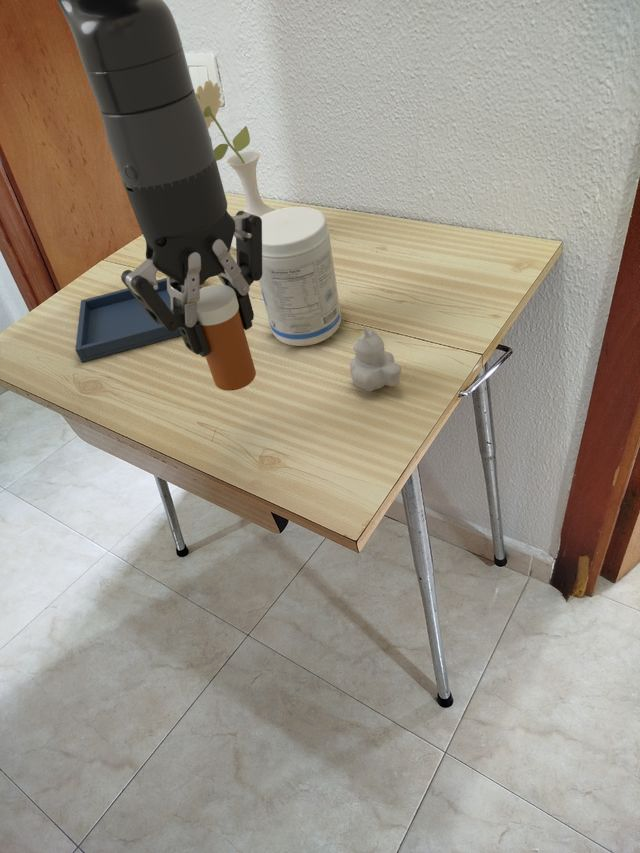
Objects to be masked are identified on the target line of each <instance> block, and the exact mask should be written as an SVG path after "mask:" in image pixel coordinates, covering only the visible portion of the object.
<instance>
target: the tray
mask: <svg viewBox="0 0 640 853" xmlns="http://www.w3.org/2000/svg"><path fill="white" fill-rule="evenodd" d="M156 280H157V282H158V289H157V290H155V291H156V292H157V293H158V295H159V296H160V297H161V299H162V300H163V301H164V303H165V304H166V305H167V307H168V308H169V309H170V310H171V301H170V295H169V293H168V291H167V277H165V278H164V277H163V278H162V279H156ZM177 337H182V335H181V332H180V329H179V327H178V328H177V329H176V330H175V331H169V330H167V329H166V328H165V327H164V326H162V325H160V324H158V323H156V322H155V321H154V320H153V319H152V318H151V317H150V315H149V314H148V313H147V312H146V310H145V309H144V308H143V307H142V305H141V304H140V303H139V302H138V300H137V299H136V298H135V297H134V295H133V294H132V293H131V292H130V290H129V289H128V288H127V287H126V288H123V289H119V290H115V291H112V292H108V293H104V294H100V295H96V296H93V297H88V298H84V299H81V300H80V306H79V315H78V324H77V333H76V342H75V352H76V354H77V356H78V358H79V360H80V362H81V363H85V362H88V361H92V360H96V359H99V358H104V357H106V356H110V355H113V354H117V353H122V352H126V351H129V350H133V349H136V348H140V347H144V346H148V345H151V344H155V343H159V342H163V341H166V340H170V339H173V338H177Z"/></svg>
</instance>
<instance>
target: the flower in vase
mask: <svg viewBox="0 0 640 853" xmlns="http://www.w3.org/2000/svg"><path fill="white" fill-rule="evenodd" d="M195 94H196V97H197V100H198V102H199V105H200V107H201V110H202V112H203V115H204V117H205V120H206V124H207V127H208V129H210V128H211V125H212V123H215V124H216V126H217V127H218V130H219V131H220V133H222V136H223V138H224V140H225V142H226V143H220V144H218V145H217V146H216V147H215V148H213V150H214V154H215V158H216V162H219V161H220V160H222V159H224V157H225V155H226V153H227V151H228V149H229V147H230V149H231V150H232V151H233V152H234V153H235V154H233V155H231V156H230V157H229V158H228V159H227V160H226V162H227V164H228V165H229V166H230V167H231V168H232V169H233V170H234V171H235V173H236V174H237V177H238V178H239V180H240V184H241V186H242V189H243V192H244V197H245V208H244V210H243V211H244V212H247V213H250V214H253V215H255V216H258V217H261V216H262V215H264V214H266V213H269V212H271V211H274V210H277V209H275V208H273V207H271V206H269V205H267V204H265V203H264V201H263V200H262V198H261V195H260V190H259V186H258V181H257V180H258V179H257V167H258V166H257V165H258V162H259V159H260V156H261V155H260V154H261V153H259V152H258V151H255V150H253V151H252V150H251V151H248V150H247V151H243V150H244V149H245V148H246V147H248V146H249V145H250V142H251V136H250V133H249V129H248V127H247V125H245V126H244V127H243V128H242V129H241V130H240V131H239V132H238V133H237V134H236V135H235V136H234V137H233V139H232V143H231V142H230V140H229V139H228V137H227V134H226V133H225V131H224V130H223V128H222V126H221V125H220V123H219V122H218V119H217V118H216V117H217V114H218V113H219V108H220V106H221V103H222V101H221V100H220V99H221V95H222V93H221V88H220V86H219V83H218V82H215V83H213V82H212V80H211V79H209V80H206V81H205V82H204V84H203V86H201V85H198V86H197V88H196V92H195ZM231 248H232V249H234V250H235V251H236V237H235V236H233V240H232V244H231Z"/></svg>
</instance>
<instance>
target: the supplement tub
mask: <svg viewBox="0 0 640 853" xmlns="http://www.w3.org/2000/svg"><path fill="white" fill-rule="evenodd" d="M260 218H261V220H262V277H261V279H260V280H258V283H259V284H258V285H259V287H260V291H261V292H260V293H261V295H262V299H263V303H264V306H265V311H266V316H267V319H268V323H269V326H270V330H271V333H272V335H273V336H274V337H275V338H276V339H277V340H278V341H279V342H281V343H283V344H285V345H289V346H293V347H305V346H312V345H315V344H319V343H322V342H324V341H325V340H327V339H329V338H330V337H332V336H333V335H334V334H335V333H336V332H337V331H338V329H339V328H340V326H341V323H342V314H341V312H342V311H341V306H340V305H341V304H340V299H339V292H338V286H337V278H336V271H335V264H334V259H333V251H332V244H331V238H330V230H329V226H328V223H327V219H326V216H325V214H324V213H323V212H322V211H320V210H318V209H317V208H313V207H309V206H298V205H297V206H286V207H282V208H278V209H276V210H274V211H271V212H269V213H266V214H264V215H262V216H261V217H260Z"/></svg>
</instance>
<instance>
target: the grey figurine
mask: <svg viewBox="0 0 640 853" xmlns="http://www.w3.org/2000/svg"><path fill="white" fill-rule="evenodd" d="M352 349H353V350H354V355H355V356H354V357H353V358H351V360H350V362H349V370H350V376H351V379H352V381H353V383H354V385H355V386H356V387H357V388H359V389H361V390H363V391H365V392H372V391H376V390H379V389H382V388H383V387H385V386H388V387H397V386H398V385H400V383H401V379H400V375H401V373H402V366H401V365H400V364H399V363H396V362H395V357H394V354H392V353H391V352H388V351H386V350H385V344H384V340H383V338H382V337H381V336H380V335H379V334H377V332H376V331H375V330H373V329H371V330H369V331H368V330H367V328H366V327H365V326H363V334H361V335H360V336H359V337H358V339H357V342H355V343H354V345H353V347H352Z"/></svg>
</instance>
